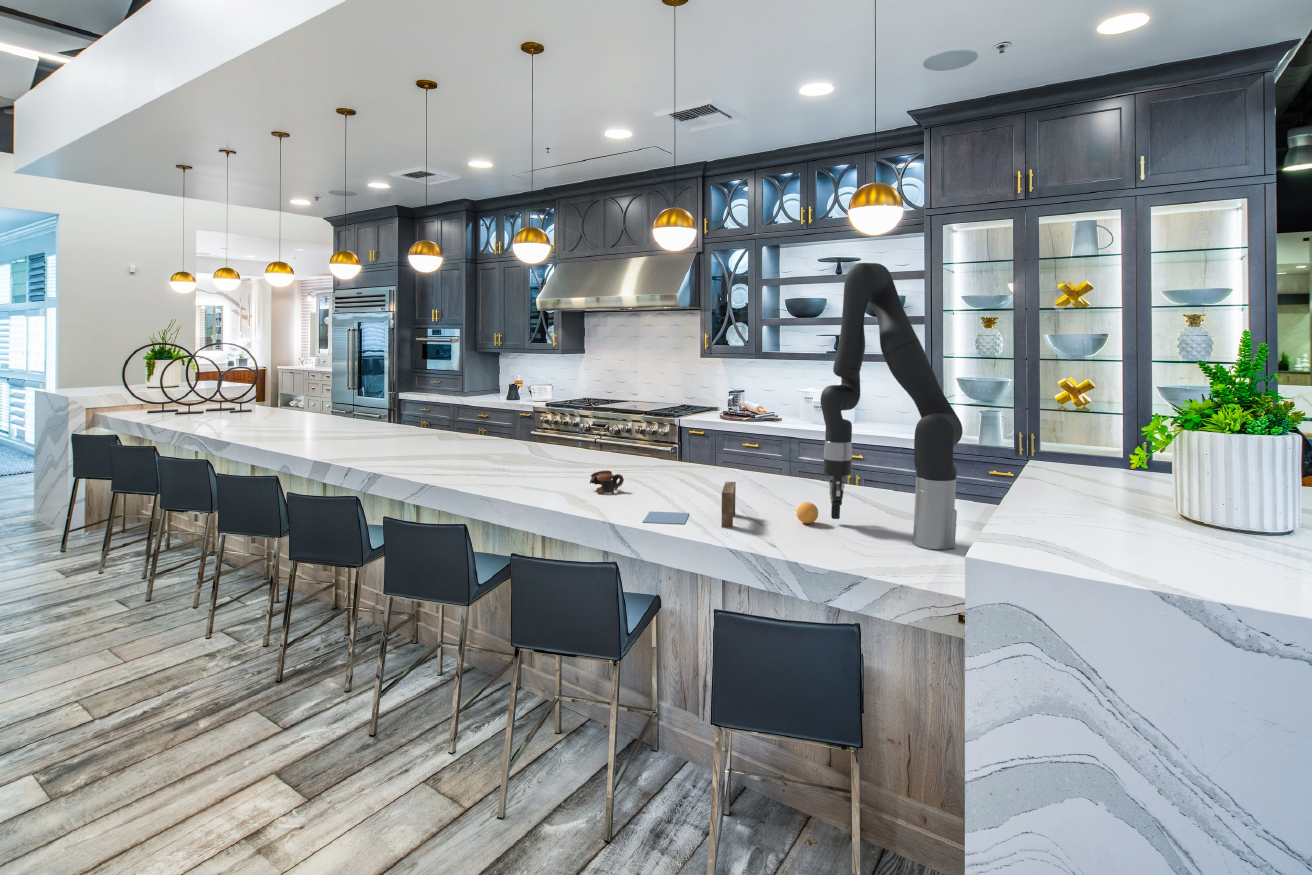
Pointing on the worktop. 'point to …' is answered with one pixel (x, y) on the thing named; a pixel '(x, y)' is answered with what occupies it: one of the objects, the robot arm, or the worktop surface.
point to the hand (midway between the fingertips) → (835, 518)
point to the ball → (807, 512)
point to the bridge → (728, 504)
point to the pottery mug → (606, 481)
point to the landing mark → (666, 517)
